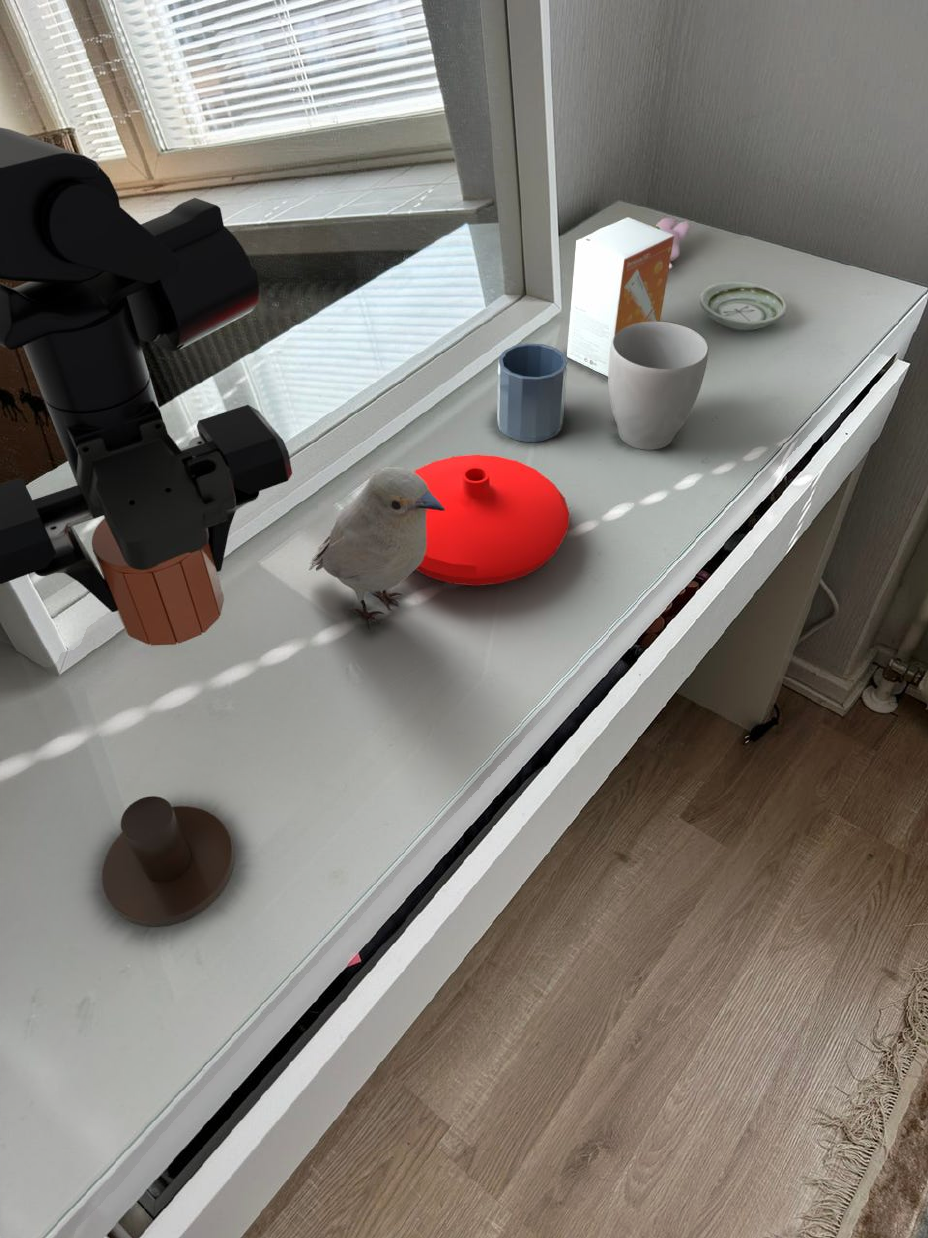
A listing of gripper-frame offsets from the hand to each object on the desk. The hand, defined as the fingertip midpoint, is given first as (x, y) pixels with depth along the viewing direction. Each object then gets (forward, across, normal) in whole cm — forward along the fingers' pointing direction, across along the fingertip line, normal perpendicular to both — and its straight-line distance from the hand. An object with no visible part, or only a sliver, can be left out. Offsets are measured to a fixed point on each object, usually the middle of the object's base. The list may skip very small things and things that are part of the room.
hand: (165, 587), depth 62 cm
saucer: (+10, +72, +18) cm, 75 cm away
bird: (+10, +15, -1) cm, 18 cm away
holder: (+10, -7, -14) cm, 18 cm away
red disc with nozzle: (+10, +26, +2) cm, 28 cm away
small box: (+10, +55, +20) cm, 59 cm away
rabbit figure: (+10, +73, +34) cm, 81 cm away
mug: (+10, +50, +7) cm, 52 cm away
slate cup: (+10, +40, +14) cm, 44 cm away
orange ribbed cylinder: (+2, 0, 0) cm, 2 cm away
